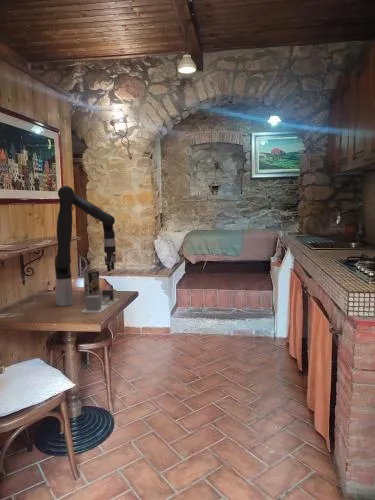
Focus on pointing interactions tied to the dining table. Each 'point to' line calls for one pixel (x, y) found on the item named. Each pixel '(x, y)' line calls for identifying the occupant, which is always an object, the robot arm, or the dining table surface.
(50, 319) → the dining table surface
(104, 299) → the tall dark grey box
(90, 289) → the coffee box
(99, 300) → the gauge base
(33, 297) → the dining table surface
